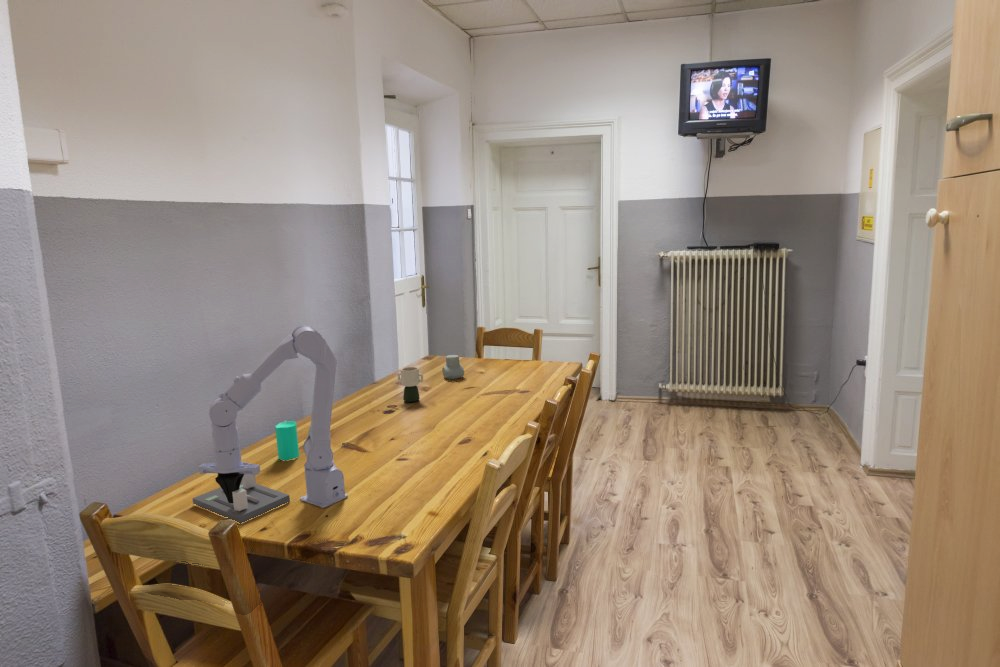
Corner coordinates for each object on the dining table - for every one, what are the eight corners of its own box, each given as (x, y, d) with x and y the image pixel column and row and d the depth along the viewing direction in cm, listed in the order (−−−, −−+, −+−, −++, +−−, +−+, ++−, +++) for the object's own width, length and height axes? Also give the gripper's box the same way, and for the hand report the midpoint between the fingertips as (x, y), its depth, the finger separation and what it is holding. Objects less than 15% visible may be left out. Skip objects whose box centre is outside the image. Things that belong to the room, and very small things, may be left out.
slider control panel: (290, 502, 160) (288, 491, 160) (240, 524, 149) (238, 512, 149) (243, 485, 172) (242, 475, 171) (193, 505, 161) (192, 494, 160)
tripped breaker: (248, 507, 153) (246, 490, 152) (239, 511, 151) (237, 493, 150) (243, 505, 154) (241, 488, 153) (234, 509, 152) (232, 492, 151)
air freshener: (441, 376, 287) (440, 354, 286) (459, 374, 290) (458, 353, 288) (447, 381, 277) (446, 359, 275) (465, 379, 279) (464, 357, 278)
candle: (292, 452, 196) (288, 415, 194) (303, 456, 192) (299, 418, 190) (274, 458, 191) (270, 420, 189) (285, 462, 188) (281, 423, 186)
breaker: (255, 485, 166) (254, 469, 165) (247, 488, 164) (245, 472, 163) (251, 483, 167) (249, 467, 166) (243, 487, 165) (241, 471, 164)
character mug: (428, 399, 250) (426, 367, 248) (420, 404, 243) (418, 371, 241) (403, 397, 254) (401, 366, 251) (394, 402, 247) (392, 370, 245)
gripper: (264, 442, 155) (269, 495, 157) (208, 441, 157) (214, 493, 159) (249, 453, 148) (255, 507, 150) (191, 452, 150) (197, 506, 152)
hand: (233, 501), depth 154 cm, fingers closed
